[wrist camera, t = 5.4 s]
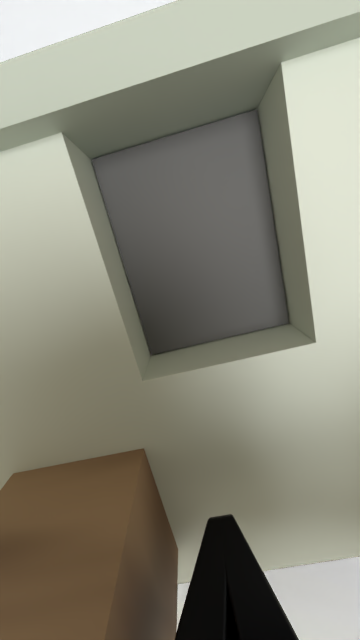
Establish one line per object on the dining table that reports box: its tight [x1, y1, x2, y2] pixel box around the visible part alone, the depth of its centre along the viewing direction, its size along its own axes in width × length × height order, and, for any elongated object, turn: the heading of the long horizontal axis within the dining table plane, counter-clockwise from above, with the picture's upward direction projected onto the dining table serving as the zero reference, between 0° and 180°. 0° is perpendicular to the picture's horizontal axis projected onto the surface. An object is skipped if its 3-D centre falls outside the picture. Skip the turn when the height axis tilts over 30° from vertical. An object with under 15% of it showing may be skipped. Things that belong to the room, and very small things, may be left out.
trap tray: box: [0, 0, 360, 584], centre depth 8 cm, size 16×25×3 cm, turn 104°
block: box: [0, 448, 178, 640], centre depth 7 cm, size 4×4×4 cm
